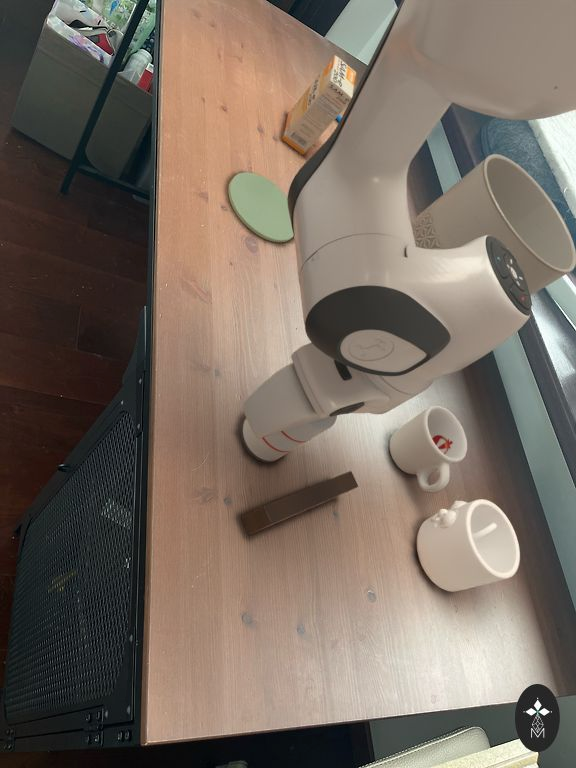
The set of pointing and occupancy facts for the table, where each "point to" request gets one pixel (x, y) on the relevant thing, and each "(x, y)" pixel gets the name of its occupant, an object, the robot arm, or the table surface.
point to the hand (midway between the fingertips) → (290, 421)
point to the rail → (298, 502)
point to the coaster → (261, 206)
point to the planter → (501, 220)
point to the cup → (429, 446)
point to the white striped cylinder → (281, 439)
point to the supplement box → (320, 105)
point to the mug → (468, 546)
